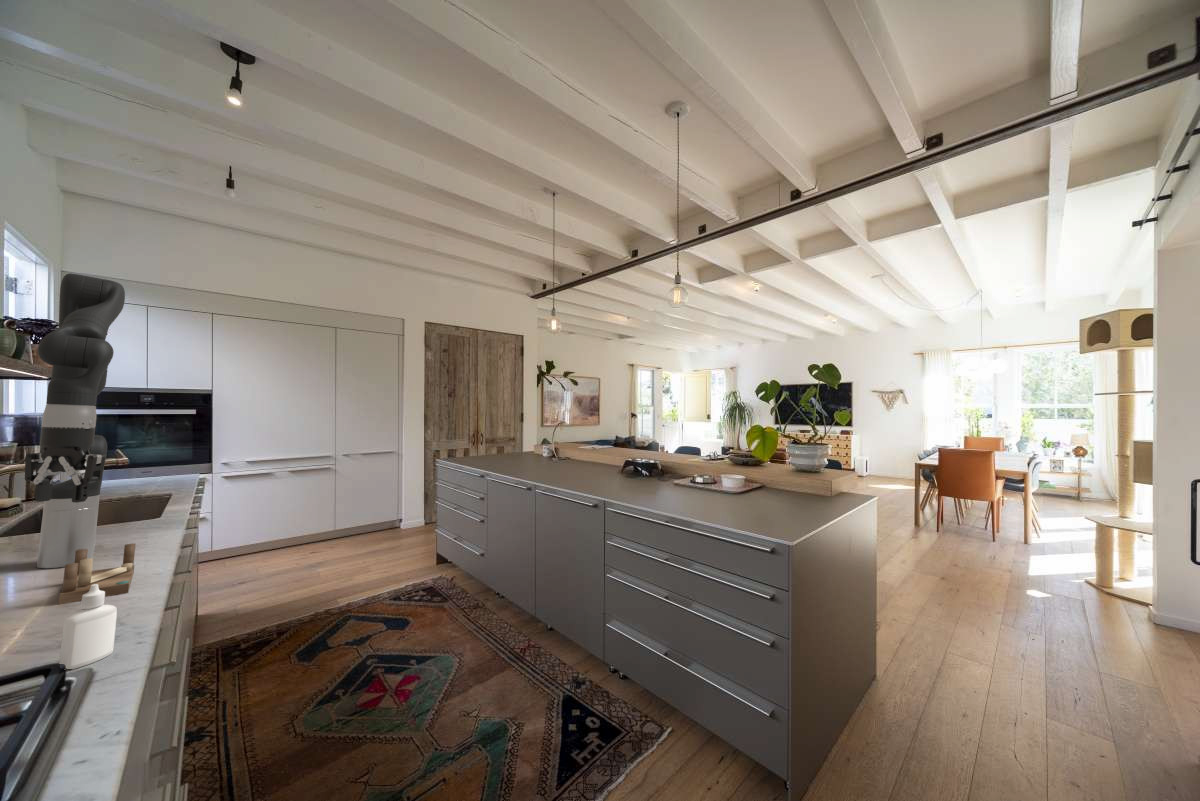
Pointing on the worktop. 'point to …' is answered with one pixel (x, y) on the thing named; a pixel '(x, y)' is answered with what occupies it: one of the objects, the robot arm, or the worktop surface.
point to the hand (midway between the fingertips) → (61, 501)
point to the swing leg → (86, 572)
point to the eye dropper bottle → (89, 631)
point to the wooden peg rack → (109, 585)
